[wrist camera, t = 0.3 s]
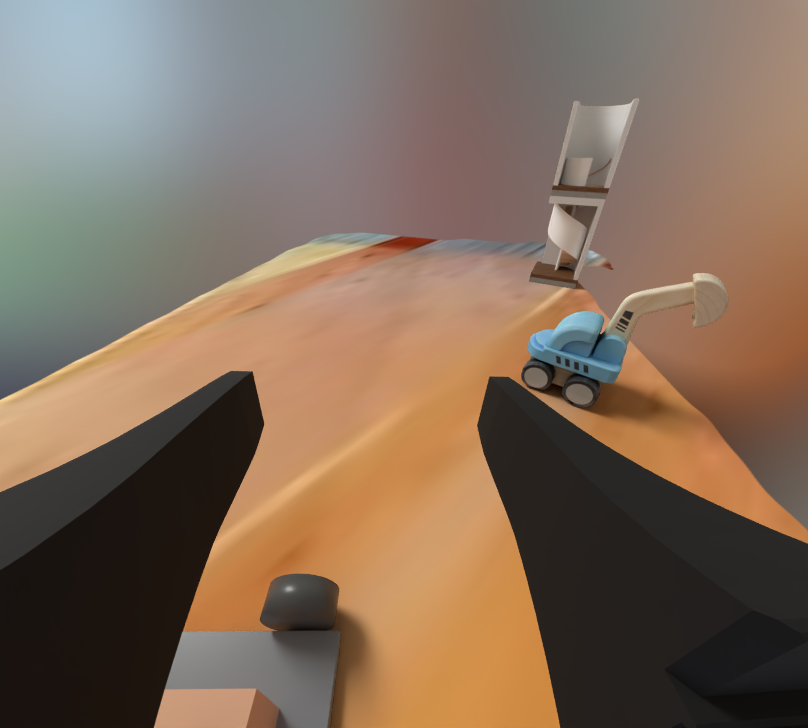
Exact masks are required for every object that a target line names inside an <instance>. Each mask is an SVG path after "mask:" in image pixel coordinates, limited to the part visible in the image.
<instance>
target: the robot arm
mask: <svg viewBox="0 0 808 728" xmlns="http://www.w3.org/2000/svg"><path fill="white" fill-rule="evenodd" d="M263 427H264V420H263V416H262V412H261V407H260V403H259V398H258V394H257V390H256V385H255V381H254V376H253V372H248V371H230V372H228V373H226V374H224V375H223V376H221V377H219V378H217V379H216V380H214V381H212V382H211V383H209V384H207V385H206V386H204V387H202V388H201V389H199V390H198V391H196V392H194V393H193V394H191V395H189V396H188V397H186V398H185V399H183V400H181V401H180V402H178V403H176V404H175V405H173V406H171V407H170V408H168V409H167V410H165V411H163V412H162V413H160V414H158V415H156V416H154V417H153V418H151V419H149V420H147V421H146V422H144V423H142V424H140V425H139V426H137V427H135V428H133V429H131V430H130V431H128V432H126V433H124V434H123V435H121V436H119V437H117V438H115V439H113V440H112V441H110V442H108V443H106V444H104V445H102V446H100V447H98V448H96V449H94V450H92V451H90V452H88V453H86V454H84V455H82V456H80V457H78V458H76V459H74V460H72V461H69V462H67V463H65V464H63V465H61V466H59V467H57V468H55V469H53V470H50V471H48V472H46V473H44V474H42V475H39V476H37V477H35V478H32V479H30V480H28V481H25V482H23V483H21V484H18V485H16V486H14V487H11V488H9V489H7V490H4V491H2V492H0V728H154V726H155V722H156V719H157V715H158V711H159V708H160V704H161V701H162V697H163V694H164V690H165V687H166V683H167V680H168V677H169V674H170V671H171V667H172V664H173V661H174V658H175V654H176V651H177V648H178V645H179V642H180V638H181V635H182V632H183V629H184V626H185V623H186V620H187V617H188V614H189V611H190V608H191V605H192V602H193V599H194V596H195V593H196V590H197V587H198V584H199V582H200V579H201V576H202V573H203V570H204V568H205V565H206V562H207V559H208V557H209V554H210V551H211V548H212V546H213V543H214V541H215V538H216V536H217V534H218V531H219V529H220V527H221V525H222V523H223V520H224V518H225V516H226V514H227V512H228V510H229V508H230V506H231V504H232V502H233V500H234V497H235V495H236V493H237V491H238V489H239V487H240V485H241V483H242V481H243V479H244V476H245V474H246V472H247V470H248V468H249V466H250V464H251V461H252V459H253V457H254V455H255V452H256V449H257V446H258V443H259V440H260V437H261V433H262V430H263ZM477 427H478V431H479V436H480V440H481V444H482V448H483V452H484V455H485V458H486V461H487V463H488V466H489V469H490V471H491V474H492V477H493V479H494V482H495V484H496V487H497V489H498V492H499V495H500V497H501V500H502V502H503V505H504V507H505V510H506V513H507V515H508V518H509V520H510V523H511V526H512V529H513V532H514V535H515V538H516V541H517V545H518V549H519V552H520V556H521V559H522V563H523V566H524V570H525V574H526V577H527V581H528V585H529V589H530V593H531V597H532V601H533V605H534V609H535V612H536V617H537V621H538V625H539V630H540V634H541V638H542V643H543V647H544V651H545V655H546V660H547V664H548V669H549V674H550V679H551V684H552V688H553V693H554V698H555V703H556V708H557V713H558V717H559V723H560V728H808V544H807V543H805V542H802V541H800V540H797V539H795V538H792V537H790V536H787V535H785V534H782V533H780V532H777V531H775V530H773V529H770V528H768V527H766V526H763V525H761V524H759V523H757V522H754V521H752V520H750V519H747V518H745V517H743V516H741V515H738V514H736V513H734V512H732V511H729V510H727V509H725V508H723V507H721V506H719V505H716V504H714V503H712V502H710V501H708V500H706V499H704V498H702V497H699V496H697V495H695V494H693V493H691V492H689V491H687V490H685V489H684V488H682V487H680V486H678V485H676V484H674V483H672V482H670V481H668V480H666V479H664V478H662V477H660V476H658V475H656V474H654V473H653V472H651V471H649V470H647V469H645V468H643V467H642V466H640V465H638V464H636V463H635V462H633V461H631V460H629V459H628V458H626V457H624V456H623V455H621V454H619V453H617V452H616V451H614V450H612V449H611V448H609V447H608V446H606V445H604V444H603V443H601V442H600V441H598V440H597V439H595V438H594V437H592V436H591V435H589V434H588V433H586V432H584V431H583V430H581V429H580V428H578V427H577V426H576V425H574V424H573V423H571V422H570V421H568V420H567V419H566V418H564V417H563V416H561V415H560V414H559V413H557V412H556V411H555V410H553V409H552V408H551V407H549V406H548V405H546V404H545V403H544V402H542V401H541V400H540V399H538V398H537V397H536V396H534V395H533V394H532V393H530V392H529V391H528V390H526V389H525V388H524V387H522V386H521V385H520V384H518V383H517V382H515V381H514V380H512V379H511V378H509V377H489V381H488V385H487V389H486V393H485V397H484V401H483V405H482V409H481V413H480V417H479V421H478V425H477Z"/></svg>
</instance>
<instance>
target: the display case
mask: <svg viewBox="0 0 808 728" xmlns="http://www.w3.org/2000/svg"><path fill="white" fill-rule="evenodd" d="M638 103H639V99H634V100H633V101H632V103H630V104H626V105H619V106H601V107H593V106H592V107H591V106H582V105H580V102H579V101H574V104H573V108H572V112H571V116H570V120H569V124H568V128H567V132H566V136H565V140H564V144H563V148H562V152H561V156H560V160H559V164H558V168H557V172H556V176H555V180H554V184H553V188H552V192H551V196H550V200H549V203H555V204H554V208H553V212H552V216H551V220H550V223H549V227H548V234H549V236H548V240H547V243H546V247H545V251H544V255H543V259H542V262H537V263H536V265H535V267H534V269H533V271H532V272H531V276H530V280H529V281H531V282H537V283H543V284H549V285H555V286H561V287H567V288H573V289H575V287H576V284H577V281H578V278H579V275H580V272H581V269H582V266H583V263H584V261H585V258H586V255H587V252H588V249H589V246H590V243H591V240H592V237H593V234H594V231H595V228H596V225H597V223H598V220H599V217H600V213H601V211H602V208H603V205H604V202H605V199H606V196H607V193H608V190H609V187H610V185H611V181H612V178H613V176H614V173H615V170H616V167H617V164H618V161H619V158H620V155H621V152H622V149H623V146H624V143H625V141H626V138H627V134H628V132H629V129H630V126H631V123H632V120H633V117H634V114H635V111H636V109H637V106H638Z"/></svg>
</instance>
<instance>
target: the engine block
mask: <svg viewBox="0 0 808 728" xmlns="http://www.w3.org/2000/svg"><path fill="white" fill-rule="evenodd" d="M279 709H280V708H278V707H277V706H276V705H275V704H274V703H273V702H271V701H270V700H269V699H268V698H267V697H266V696H265V695H263V694H262V693H261V692H260V691H259V690H258V689H165V690H164V694H163V697H162V701H161V704H160V708H159V711H158V715H157V719H156V722H155V726H154V728H275V727H276V723H277V718H278V714H279Z"/></svg>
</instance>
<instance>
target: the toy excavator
mask: <svg viewBox="0 0 808 728" xmlns="http://www.w3.org/2000/svg"><path fill="white" fill-rule="evenodd" d="M689 304H694V310H695V312H694V314H693V316H692V319H693V327H695V328H698V327H703V326H707V325H709V324H712V323H714V322H715V321H717V320H718V319H719V318H720V317H721V316H722V315H723V314H724V313H725V311H726V309H727V306H728V294H727V291H726V289H725V286H724V285H723V283H722V281H721V280H720V279H718V278H717V277H715V276H713V275H711V274H706V273H696V274H694V275H693V282H689V283H682V284H677V285H671V286H665V287H659V288H654V289H648V290H644V291H640V292H637V293H634V294H631V295H630V296H629V297H627V298H626V299H625V300H624V301H623V302H622V304H621V305H620V307H619V308H618V310H617V311H616V313H615V315H614V316H613V318H612V320H611V321H610V323H609V325H608V327H607V328H606V330H605V331H604V332H603V333H602V334H600V332H601V329H602V325H603V323H604V318H603V316H602V315H600V314H598V313H594V312H589V311H583V312H577V313H574V314H572V315H569V316H568V317H566V318H565V319H563V320H562V321H561V322H560V323H559V325H558V326H557V327H556V329H555V330H549V329H548V330H542V331H540V332H537V333H535V334H533V335H532V336H531V338H530V341H529V344H528V351H529V353H530V354H531V356H530V359H529V361H528V362H527V363H526V365H525V366H524V368H523V371H522V374H521V377H522V380H523V382H524V383H525V384H526V385H527V386H528V387H534V388H537V389H540V390H543V389H546V388H548V387H549V386H550V385H551V383H554V384H557V385H559V386H562V387H563V389H562V395H563V397H564V398H565V400H566V401H568V400H570V401H572V402H573V403H574V404H572V405H573V406H576V407H588V406H591V405H593V404H594V403H595V402H596V400H597V399H598V397H599V395H600V386H601V384H602V382H604V383H608V384H613V383H614V382H615V380H616V378H617V376H618V375H619V373H620V371H621V367H622V363H623V358H624V355H625V353H626V349H627V344H628V342H629V339H630V337H631V334H632V332H633V330H634V328H635V325H636V323H637V321H638V319H639V318H640V317H642V316H643V315H646V314H649V313H654V312H658V311H662V310H666V309H671V308H675V307H680V306H685V305H689Z"/></svg>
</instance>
